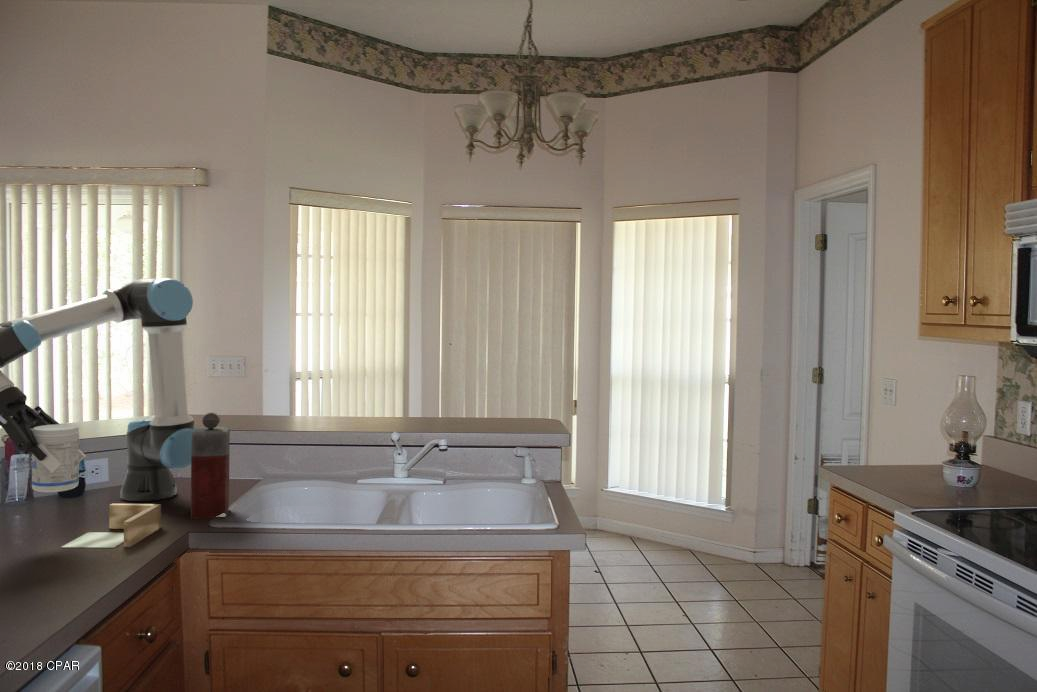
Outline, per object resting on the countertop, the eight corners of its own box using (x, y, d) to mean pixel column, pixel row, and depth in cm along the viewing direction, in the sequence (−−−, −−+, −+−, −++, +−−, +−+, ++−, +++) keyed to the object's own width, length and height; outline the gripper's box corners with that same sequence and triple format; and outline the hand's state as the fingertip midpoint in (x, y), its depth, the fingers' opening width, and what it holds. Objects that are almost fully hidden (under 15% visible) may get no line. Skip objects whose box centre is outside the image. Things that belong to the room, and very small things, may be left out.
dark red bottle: (229, 507, 215) (230, 409, 214) (226, 517, 204) (227, 414, 203) (195, 508, 212) (196, 409, 211) (190, 519, 202) (191, 414, 201)
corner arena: (61, 547, 175) (61, 522, 175) (100, 526, 193) (100, 503, 192) (128, 548, 176) (128, 522, 175) (161, 527, 193) (161, 504, 193)
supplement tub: (28, 487, 179) (28, 425, 179) (73, 482, 186) (73, 422, 185) (36, 495, 172) (36, 431, 171) (83, 489, 178) (83, 427, 178)
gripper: (19, 401, 189) (83, 465, 190) (-45, 413, 166) (28, 485, 168) (40, 380, 188) (104, 445, 190) (-20, 389, 166) (53, 462, 167)
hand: (69, 464), depth 179 cm, fingers closed on supplement tub, 9 cm apart
